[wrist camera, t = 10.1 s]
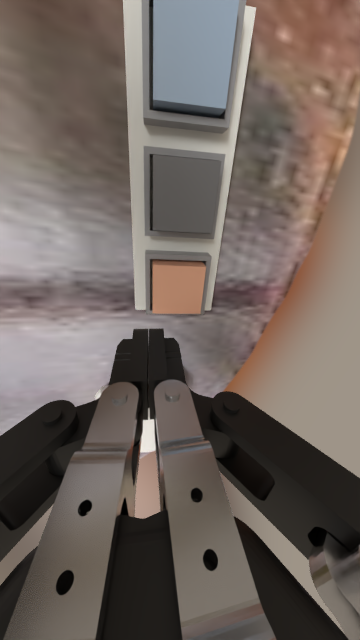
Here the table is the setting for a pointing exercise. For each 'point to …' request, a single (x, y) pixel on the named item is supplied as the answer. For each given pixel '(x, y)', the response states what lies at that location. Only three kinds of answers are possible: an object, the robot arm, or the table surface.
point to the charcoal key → (184, 193)
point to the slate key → (193, 55)
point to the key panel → (176, 151)
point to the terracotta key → (178, 286)
